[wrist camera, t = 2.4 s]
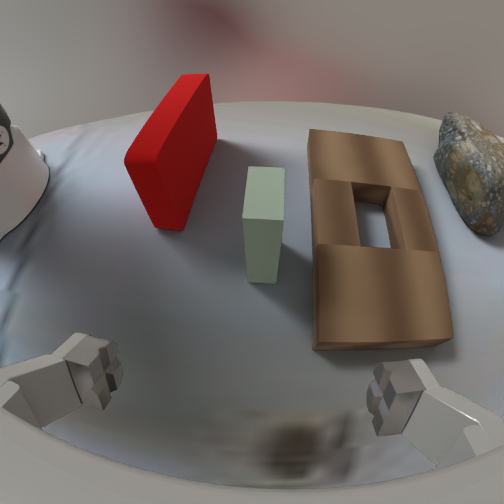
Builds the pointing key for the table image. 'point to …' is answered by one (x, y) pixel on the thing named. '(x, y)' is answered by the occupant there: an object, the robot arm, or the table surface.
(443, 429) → the robot arm
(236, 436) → the table surface
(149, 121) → the red slab
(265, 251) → the pale green block
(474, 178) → the stone
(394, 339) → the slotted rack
